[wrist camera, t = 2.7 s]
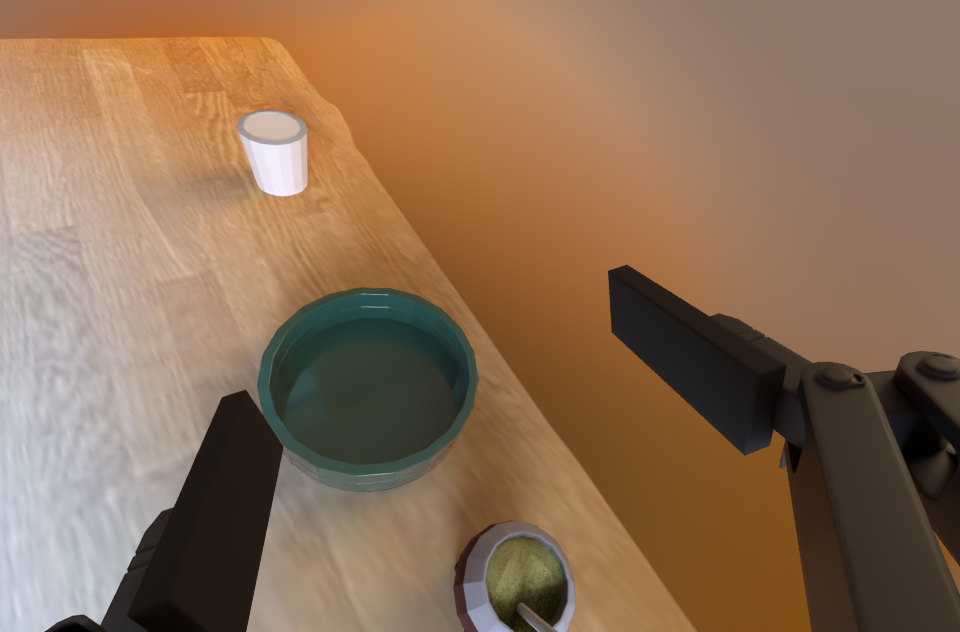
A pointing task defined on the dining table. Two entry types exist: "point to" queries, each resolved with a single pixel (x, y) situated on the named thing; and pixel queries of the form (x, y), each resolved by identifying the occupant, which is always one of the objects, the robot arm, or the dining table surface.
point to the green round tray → (368, 388)
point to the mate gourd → (514, 581)
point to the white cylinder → (275, 150)
